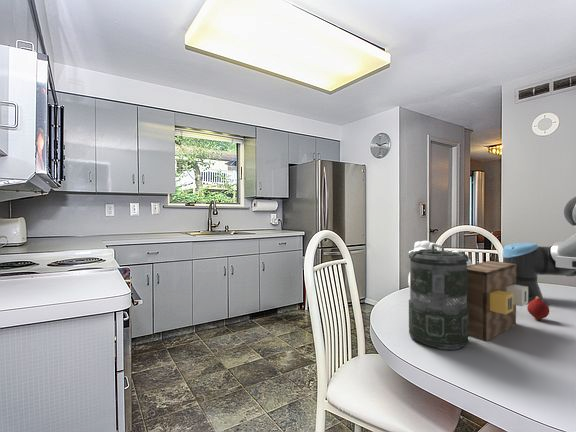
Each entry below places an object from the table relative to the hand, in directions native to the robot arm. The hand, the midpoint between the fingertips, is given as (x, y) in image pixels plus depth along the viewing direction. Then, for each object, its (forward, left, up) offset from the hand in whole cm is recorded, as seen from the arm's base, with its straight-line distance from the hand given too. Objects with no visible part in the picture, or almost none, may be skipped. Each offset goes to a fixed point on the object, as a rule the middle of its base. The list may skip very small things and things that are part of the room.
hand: (556, 261), depth 79 cm
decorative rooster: (-22, -42, -25) cm, 54 cm away
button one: (-12, -13, -16) cm, 24 cm away
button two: (0, -13, -16) cm, 21 cm away
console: (-6, -18, -25) cm, 31 cm away
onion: (-28, -11, -25) cm, 39 cm away
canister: (+15, -24, -25) cm, 37 cm away
